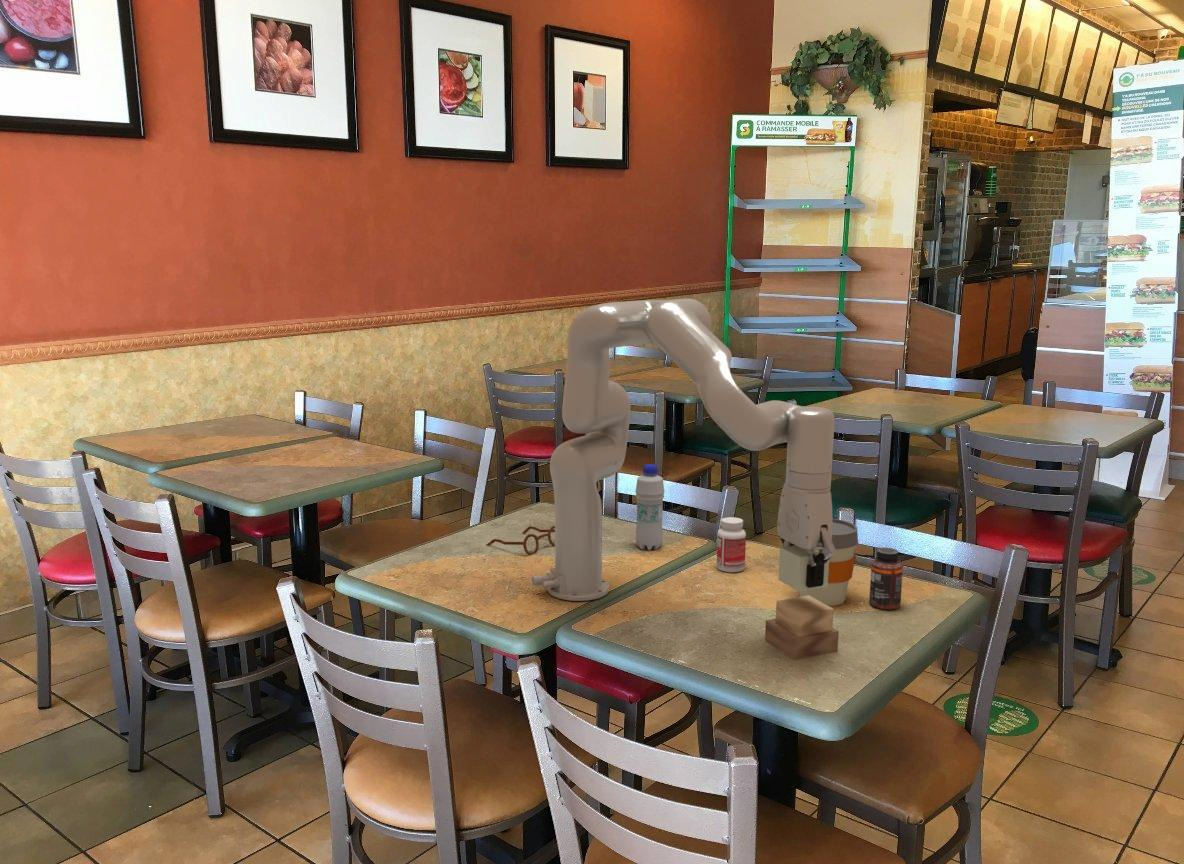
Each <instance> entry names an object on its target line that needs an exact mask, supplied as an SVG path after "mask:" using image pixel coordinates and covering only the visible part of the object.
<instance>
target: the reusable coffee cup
mask: <svg viewBox="0 0 1184 864" xmlns="http://www.w3.org/2000/svg"><path fill="white" fill-rule="evenodd" d="M858 535H859V534H858V526H856V525H855V524H854V523H851V522H849V521H847V520H844V519H838V518H833V517H832V539H831V540H832V543H833V545H834V547H835V550H836V552H835V553H834V554H833V555H832V556H831V557H830V559H829V572H828V587H824V588H817V589H811V590H805V591H799V592H798V594H799V595H798V597H802V596H808V595H810V596H811V597H813V598H815V599H817V600H818V601H820V602H822V603H824V604H826V605H827V606H829V607H835V606H839V605H842V604H843V603H845V600H846V597H847V591H848V586H849V582H850V580H851V578H852V576H853V573H854V568H855V567H854V566H855V564H856V563H855V562H856V557H857V556H856V554H855V550H856V546H857V545H858V544H859V539H858V537H859V536H858ZM816 546H818V544H817V545H816Z"/></svg>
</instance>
